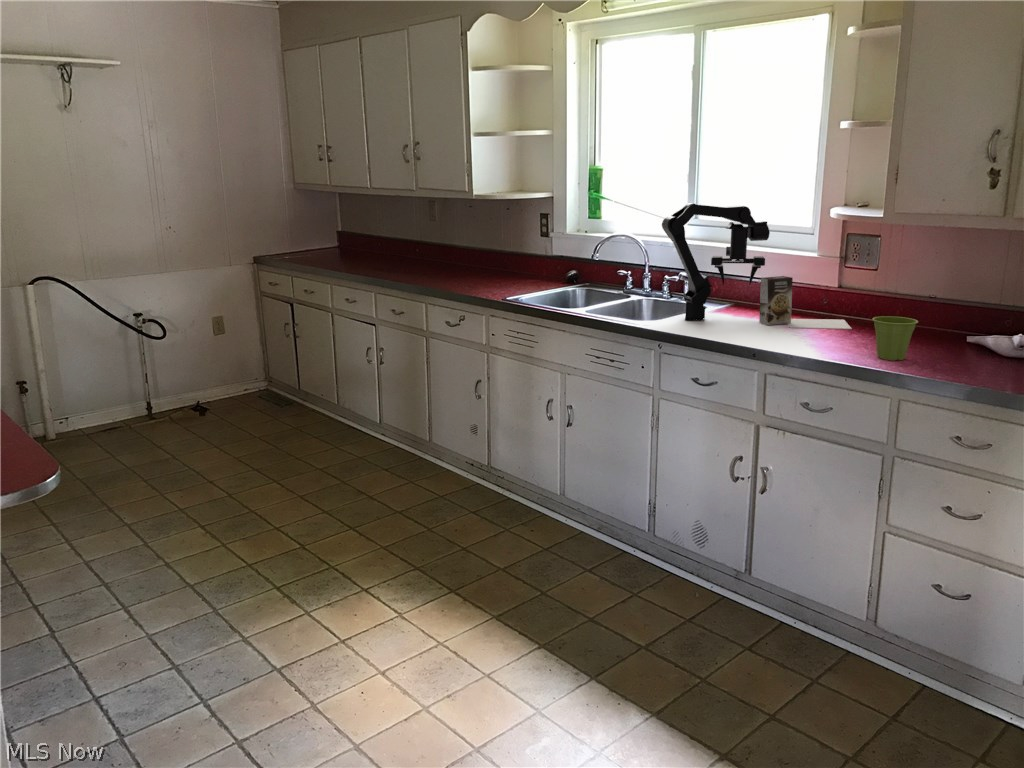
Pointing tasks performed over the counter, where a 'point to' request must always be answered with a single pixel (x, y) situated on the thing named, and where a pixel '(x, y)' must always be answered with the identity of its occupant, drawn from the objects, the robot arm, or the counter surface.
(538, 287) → the counter surface
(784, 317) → the cookie box
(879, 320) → the plant pot
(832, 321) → the mat
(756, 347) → the counter surface
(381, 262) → the counter surface
